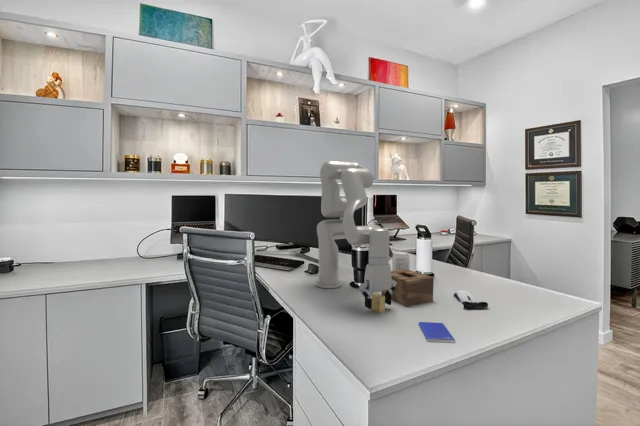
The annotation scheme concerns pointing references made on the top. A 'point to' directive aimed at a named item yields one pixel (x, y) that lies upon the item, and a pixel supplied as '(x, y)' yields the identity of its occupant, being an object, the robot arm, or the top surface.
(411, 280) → the wooden tissue box
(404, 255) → the supplement can
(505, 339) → the top surface
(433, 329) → the hard drive
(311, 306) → the top surface
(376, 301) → the wooden block
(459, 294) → the computer mouse
